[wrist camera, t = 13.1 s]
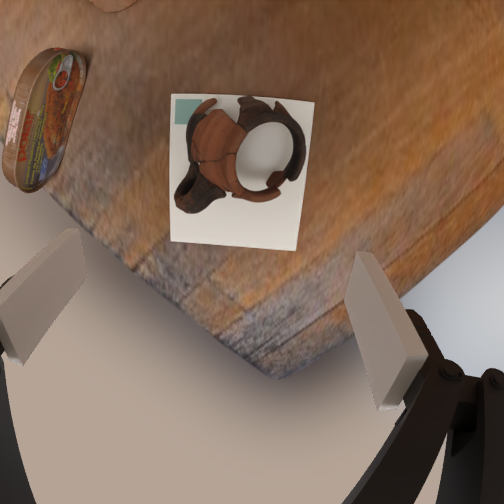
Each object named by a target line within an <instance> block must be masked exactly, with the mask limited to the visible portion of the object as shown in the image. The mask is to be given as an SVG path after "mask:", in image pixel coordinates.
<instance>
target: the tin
mask: <svg viewBox="0 0 504 504" xmlns="http://www.w3.org/2000/svg"><path fill="white" fill-rule="evenodd" d="M85 79H86V64H85V60H84V58H83V56H82V55H81V54H80V53H79V52H78V51H76V50H67V49H63V48H50V49H47V50H44V51H42V52H41V53H39V54H38V55H37V56H36V57H34V58H33V59H32V60H31V61H30V63H29V64H28V65H27V66H26V68H25V69H24V71H23V73H22V75H21V77H20V79H19V81H18V84H17V87H16V91H15V94H14V98H13V102H12V107H11V111H10V116H9V120H8V126H7V131H6V137H5V142H4V150H3V156H2V169H3V173H4V176H5V177H6V179H7V180H8V181H9V182H10V183H11V184H13V185H14V186H16V187H18V188H19V189H20V190H21V191H22V192H25V193H33V192H36V191H38V190H39V189H41V188H42V187H43V186H44V185H45V184H46V183H47V182H48V181H49V180H50V179H51V177H52V176H53V175H54V173H55V172H56V170H57V168H58V166H59V164H60V162H61V160H62V158H63V155H64V152H65V149H66V145H67V141H68V137H69V133H70V129H71V126H72V122H73V119H74V115H75V112H76V109H77V106H78V102H79V99H80V96H81V93H82V90H83V87H84V84H85Z"/></svg>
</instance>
